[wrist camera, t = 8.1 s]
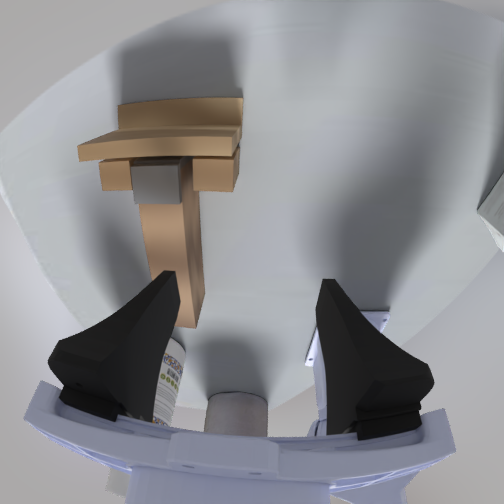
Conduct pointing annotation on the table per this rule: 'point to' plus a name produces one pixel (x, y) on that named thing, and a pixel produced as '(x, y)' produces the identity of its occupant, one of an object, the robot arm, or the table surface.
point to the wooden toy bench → (172, 140)
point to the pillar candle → (237, 415)
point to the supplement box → (494, 212)
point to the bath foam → (157, 406)
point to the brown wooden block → (172, 226)
